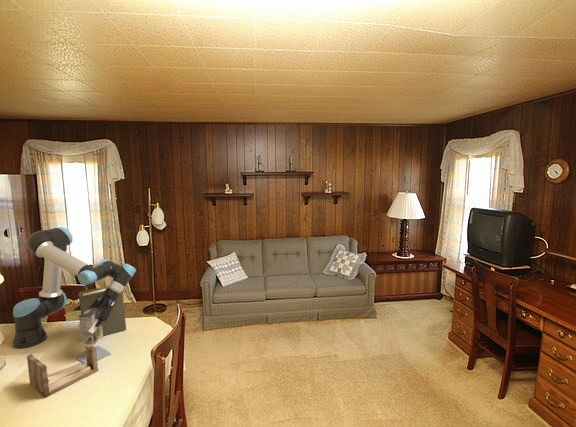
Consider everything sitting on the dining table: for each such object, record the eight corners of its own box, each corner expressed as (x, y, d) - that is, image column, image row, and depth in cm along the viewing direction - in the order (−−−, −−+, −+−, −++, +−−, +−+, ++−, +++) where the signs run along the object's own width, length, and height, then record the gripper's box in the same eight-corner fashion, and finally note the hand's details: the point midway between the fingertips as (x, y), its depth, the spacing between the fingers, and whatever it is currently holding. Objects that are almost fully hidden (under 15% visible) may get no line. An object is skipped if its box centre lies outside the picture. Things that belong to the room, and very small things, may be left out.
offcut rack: (30, 384, 143) (26, 356, 141) (82, 360, 161) (80, 334, 160) (45, 398, 135) (41, 367, 133) (98, 370, 153) (96, 344, 151)
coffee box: (91, 336, 169) (88, 307, 167) (103, 335, 169) (100, 307, 167) (81, 345, 160) (78, 315, 158) (94, 344, 160) (91, 315, 158)
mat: (73, 357, 164) (73, 355, 164) (97, 346, 174) (97, 345, 174) (87, 365, 157) (86, 364, 157) (111, 354, 167) (111, 353, 167)
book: (84, 342, 179) (79, 296, 175) (83, 335, 187) (78, 291, 183) (126, 330, 192) (121, 287, 188) (123, 324, 200) (119, 282, 195)
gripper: (130, 298, 169) (102, 338, 157) (107, 289, 181) (80, 326, 170) (119, 291, 163) (90, 333, 152) (97, 283, 175) (68, 321, 164)
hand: (85, 329), depth 161 cm, fingers closed on coffee box, 10 cm apart
